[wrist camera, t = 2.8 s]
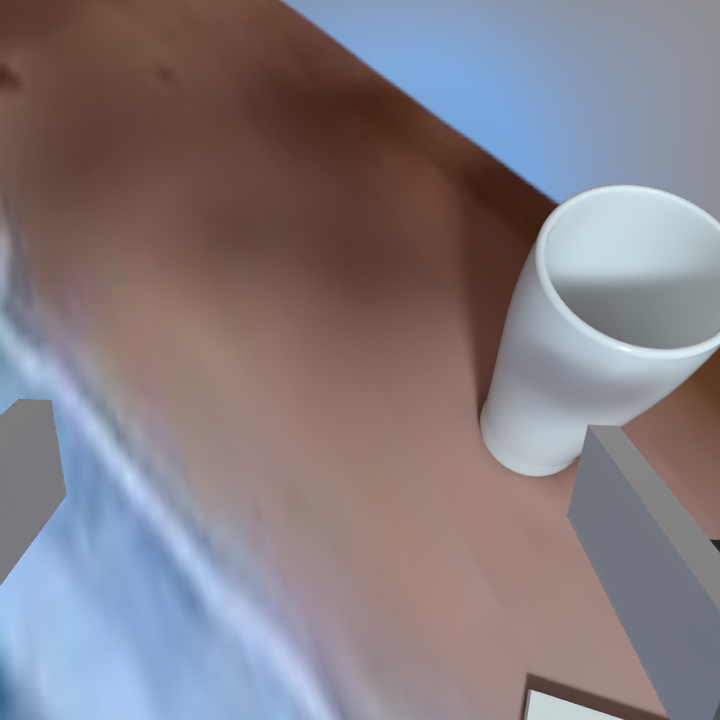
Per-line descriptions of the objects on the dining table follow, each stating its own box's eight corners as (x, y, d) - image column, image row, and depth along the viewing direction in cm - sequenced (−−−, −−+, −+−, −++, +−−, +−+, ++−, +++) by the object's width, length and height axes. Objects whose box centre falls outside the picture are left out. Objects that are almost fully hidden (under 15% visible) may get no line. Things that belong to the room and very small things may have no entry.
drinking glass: (448, 467, 32) (510, 318, 18) (482, 357, 34) (557, 159, 21) (579, 513, 31) (748, 389, 17) (603, 395, 33) (764, 211, 20)
